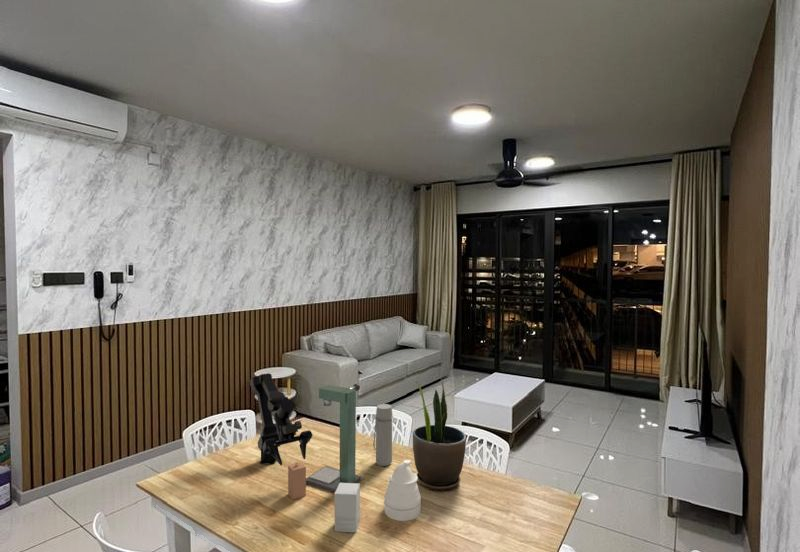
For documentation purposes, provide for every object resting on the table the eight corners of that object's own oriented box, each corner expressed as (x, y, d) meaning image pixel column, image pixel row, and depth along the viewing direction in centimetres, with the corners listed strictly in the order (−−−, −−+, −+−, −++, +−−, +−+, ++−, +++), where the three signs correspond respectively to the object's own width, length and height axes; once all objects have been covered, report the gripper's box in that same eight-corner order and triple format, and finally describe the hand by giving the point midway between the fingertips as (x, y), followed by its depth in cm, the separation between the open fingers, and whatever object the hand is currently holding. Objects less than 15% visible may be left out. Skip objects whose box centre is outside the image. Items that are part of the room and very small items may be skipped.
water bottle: (395, 461, 187) (396, 405, 187) (385, 468, 180) (386, 410, 180) (378, 456, 192) (379, 401, 192) (368, 463, 185) (368, 406, 185)
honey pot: (428, 509, 150) (428, 459, 150) (403, 525, 141) (404, 472, 141) (401, 496, 159) (401, 448, 159) (376, 510, 150) (377, 459, 149)
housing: (288, 493, 160) (288, 461, 160) (300, 490, 163) (300, 457, 163) (292, 499, 156) (292, 466, 156) (305, 495, 159) (305, 462, 158)
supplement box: (360, 519, 144) (360, 483, 144) (356, 533, 136) (356, 494, 136) (339, 518, 145) (339, 481, 144) (333, 531, 137) (334, 493, 137)
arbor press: (304, 482, 168) (305, 388, 167) (335, 463, 185) (335, 377, 185) (341, 494, 159) (342, 395, 159) (369, 473, 177) (370, 383, 176)
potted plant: (451, 465, 184) (452, 373, 183) (475, 490, 163) (476, 387, 163) (405, 472, 178) (406, 377, 177) (423, 499, 157) (424, 392, 156)
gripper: (264, 419, 161) (273, 458, 152) (310, 410, 172) (322, 446, 163) (258, 433, 168) (267, 471, 159) (303, 423, 178) (313, 459, 169)
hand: (293, 462), depth 162 cm, fingers open, 9 cm apart
